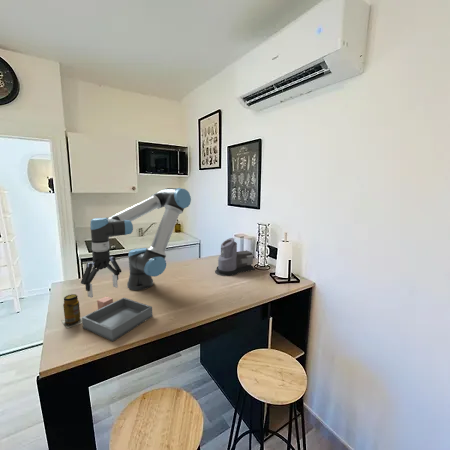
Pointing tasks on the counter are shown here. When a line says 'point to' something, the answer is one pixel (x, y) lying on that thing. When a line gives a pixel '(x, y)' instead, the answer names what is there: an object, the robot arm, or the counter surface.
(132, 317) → the tote
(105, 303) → the cube
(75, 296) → the condiment
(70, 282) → the counter surface
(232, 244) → the juicer
